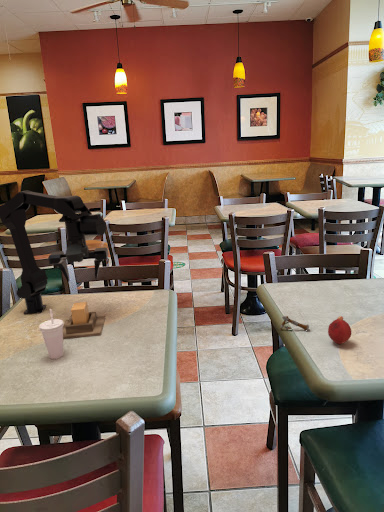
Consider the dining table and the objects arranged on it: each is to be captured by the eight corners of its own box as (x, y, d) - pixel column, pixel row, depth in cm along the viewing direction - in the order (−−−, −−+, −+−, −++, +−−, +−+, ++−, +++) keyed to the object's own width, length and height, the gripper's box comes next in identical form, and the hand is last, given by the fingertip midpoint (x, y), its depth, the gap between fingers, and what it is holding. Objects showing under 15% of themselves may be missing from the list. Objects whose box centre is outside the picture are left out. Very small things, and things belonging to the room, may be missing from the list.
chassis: (66, 322, 132) (64, 313, 131) (105, 318, 133) (104, 309, 132) (57, 339, 119) (55, 329, 119) (100, 335, 120) (99, 325, 120)
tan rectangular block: (77, 322, 129) (74, 303, 127) (89, 321, 129) (87, 301, 127) (74, 330, 123) (70, 310, 121) (87, 329, 123) (84, 308, 121)
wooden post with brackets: (276, 326, 117) (283, 313, 115) (302, 336, 116) (308, 323, 115) (277, 328, 115) (283, 315, 114) (302, 339, 114) (309, 326, 113)
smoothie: (61, 362, 106) (52, 314, 103) (39, 360, 108) (31, 313, 104) (72, 350, 112) (65, 304, 109) (52, 349, 114) (44, 304, 110)
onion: (339, 351, 102) (340, 323, 100) (323, 342, 107) (323, 315, 105) (355, 345, 104) (356, 317, 102) (338, 337, 109) (339, 310, 107)
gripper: (40, 242, 120) (48, 290, 124) (101, 237, 122) (107, 285, 126) (49, 235, 131) (56, 279, 135) (105, 230, 132) (111, 274, 137)
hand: (82, 280), depth 133 cm, fingers open, 9 cm apart
